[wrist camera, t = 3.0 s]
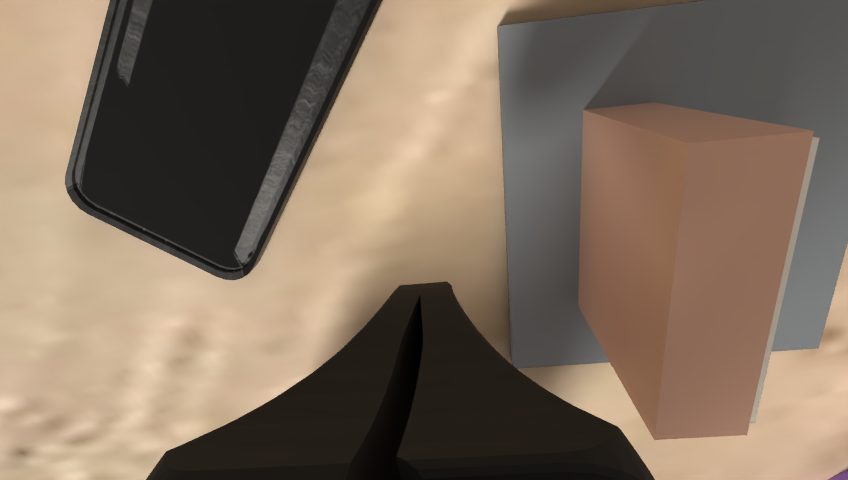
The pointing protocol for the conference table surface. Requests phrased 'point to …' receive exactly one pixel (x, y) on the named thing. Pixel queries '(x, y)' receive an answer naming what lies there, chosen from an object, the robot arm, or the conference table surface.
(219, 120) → the phone
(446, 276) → the conference table surface
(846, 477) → the masking tape
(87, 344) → the conference table surface
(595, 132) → the light brown rectangular block
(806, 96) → the mat
